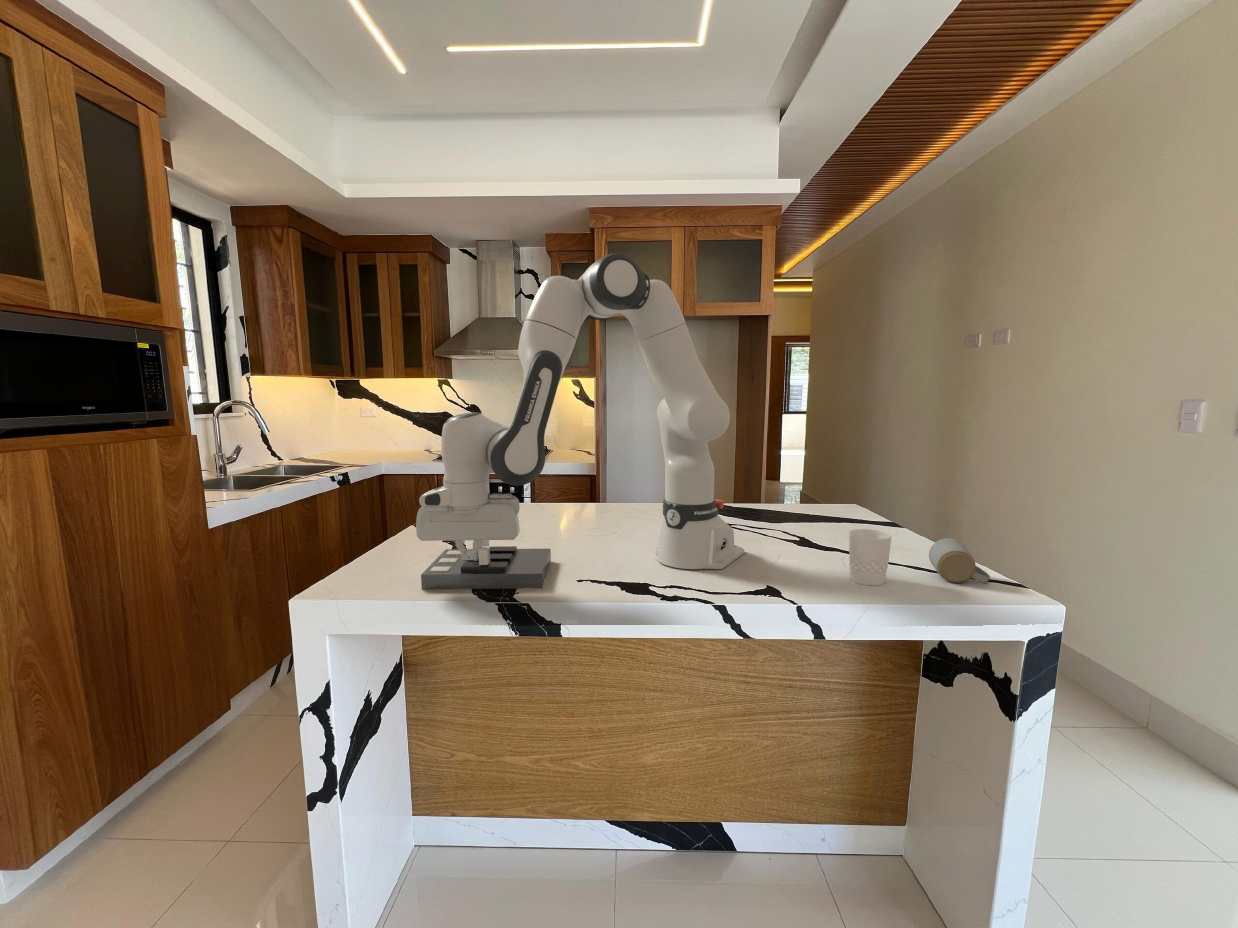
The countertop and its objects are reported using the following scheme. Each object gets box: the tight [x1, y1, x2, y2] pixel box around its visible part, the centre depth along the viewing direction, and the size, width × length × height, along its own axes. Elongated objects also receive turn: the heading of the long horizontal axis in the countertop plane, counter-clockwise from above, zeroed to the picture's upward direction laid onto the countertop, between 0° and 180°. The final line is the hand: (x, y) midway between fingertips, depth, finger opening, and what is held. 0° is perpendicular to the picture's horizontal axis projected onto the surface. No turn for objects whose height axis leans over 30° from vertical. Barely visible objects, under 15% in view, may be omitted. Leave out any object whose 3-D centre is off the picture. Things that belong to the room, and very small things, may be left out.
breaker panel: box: [420, 545, 552, 590], centre depth 119 cm, size 24×17×4 cm
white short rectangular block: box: [483, 540, 490, 546], centre depth 123 cm, size 2×2×3 cm
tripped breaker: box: [478, 545, 491, 565], centre depth 113 cm, size 2×2×3 cm
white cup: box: [848, 528, 892, 587], centre depth 114 cm, size 8×8×10 cm
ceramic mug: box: [928, 537, 991, 584], centre depth 115 cm, size 11×8×8 cm
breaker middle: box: [472, 540, 484, 557], centre depth 118 cm, size 2×2×3 cm
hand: (470, 560), depth 113 cm, fingers closed
